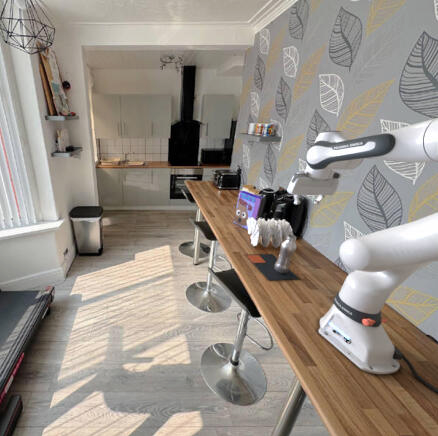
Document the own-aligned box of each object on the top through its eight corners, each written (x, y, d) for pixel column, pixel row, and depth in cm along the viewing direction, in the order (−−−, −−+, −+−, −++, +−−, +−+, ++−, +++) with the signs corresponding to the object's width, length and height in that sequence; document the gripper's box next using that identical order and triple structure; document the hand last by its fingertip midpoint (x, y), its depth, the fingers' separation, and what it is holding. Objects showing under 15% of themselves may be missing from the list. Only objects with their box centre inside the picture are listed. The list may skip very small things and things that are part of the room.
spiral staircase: (288, 256, 140) (246, 251, 141) (279, 233, 152) (241, 228, 152) (305, 238, 127) (259, 233, 127) (295, 214, 138) (252, 209, 139)
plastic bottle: (289, 276, 115) (302, 240, 107) (275, 274, 116) (286, 238, 108) (285, 268, 121) (297, 234, 113) (271, 266, 122) (282, 232, 114)
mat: (299, 279, 114) (299, 278, 113) (268, 280, 112) (269, 279, 111) (272, 254, 134) (272, 253, 133) (245, 255, 132) (245, 254, 131)
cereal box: (233, 222, 174) (239, 191, 164) (237, 221, 176) (244, 190, 166) (252, 232, 160) (260, 198, 150) (257, 231, 162) (265, 198, 152)
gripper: (299, 173, 92) (289, 206, 98) (345, 174, 95) (333, 206, 100) (289, 170, 98) (279, 201, 103) (332, 171, 100) (321, 201, 106)
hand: (306, 204), depth 102 cm, fingers open, 8 cm apart
